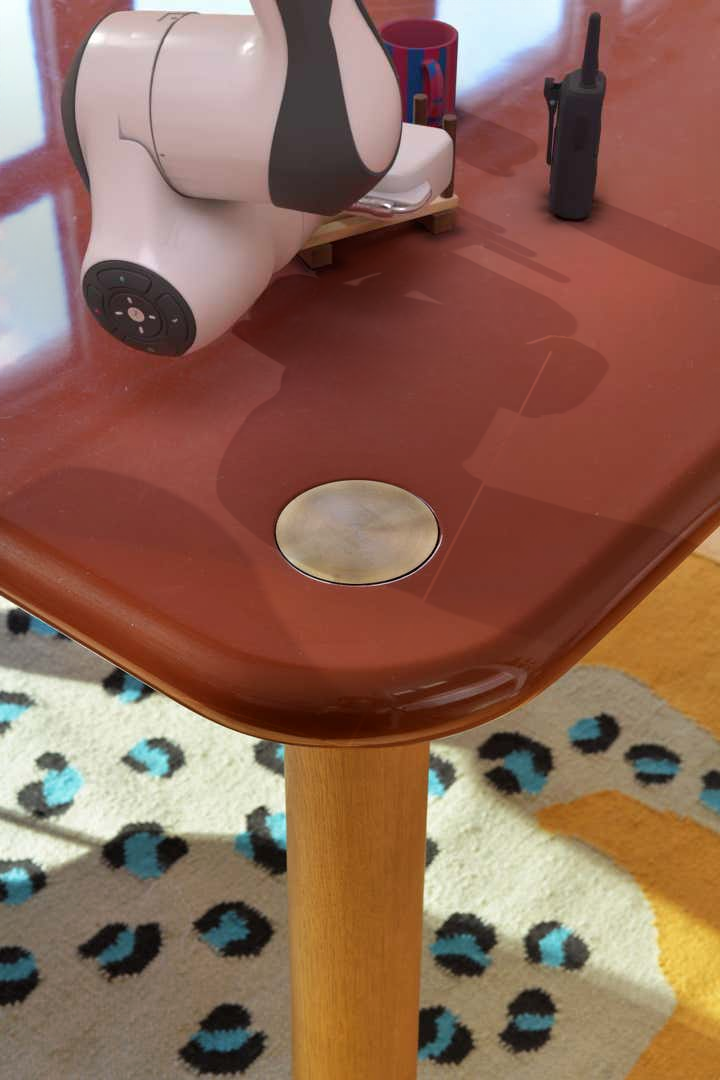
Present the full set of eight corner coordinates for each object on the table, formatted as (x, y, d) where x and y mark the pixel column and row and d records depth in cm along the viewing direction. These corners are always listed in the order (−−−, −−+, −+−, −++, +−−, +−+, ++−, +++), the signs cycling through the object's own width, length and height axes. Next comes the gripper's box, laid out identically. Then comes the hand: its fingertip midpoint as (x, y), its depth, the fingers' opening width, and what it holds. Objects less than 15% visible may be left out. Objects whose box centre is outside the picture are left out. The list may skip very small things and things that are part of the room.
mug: (448, 95, 118) (451, 16, 113) (467, 146, 110) (471, 64, 106) (371, 98, 117) (371, 19, 113) (385, 150, 110) (386, 67, 105)
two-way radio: (590, 226, 100) (615, 22, 90) (530, 221, 101) (548, 18, 91) (594, 191, 104) (618, -7, 94) (536, 186, 105) (554, -11, 95)
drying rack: (303, 271, 96) (299, 161, 90) (242, 212, 102) (235, 106, 97) (460, 227, 100) (466, 120, 95) (392, 173, 107) (394, 69, 101)
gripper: (414, 170, 81) (487, 81, 90) (113, 116, 87) (211, 38, 96) (412, 264, 85) (481, 170, 95) (125, 206, 91) (218, 123, 100)
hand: (343, 103), depth 95 cm, fingers closed on beverage can, 5 cm apart
